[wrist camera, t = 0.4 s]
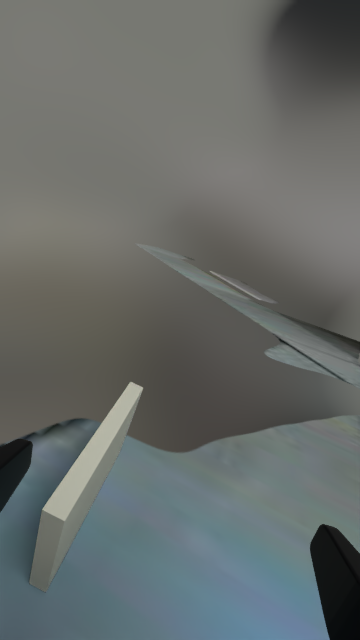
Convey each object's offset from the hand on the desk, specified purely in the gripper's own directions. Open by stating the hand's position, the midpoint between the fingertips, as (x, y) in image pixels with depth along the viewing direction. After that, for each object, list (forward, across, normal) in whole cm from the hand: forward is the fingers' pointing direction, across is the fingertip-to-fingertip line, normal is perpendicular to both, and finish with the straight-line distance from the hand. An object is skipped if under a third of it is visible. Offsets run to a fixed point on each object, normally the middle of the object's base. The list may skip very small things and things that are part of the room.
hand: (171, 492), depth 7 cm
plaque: (+9, +5, +14) cm, 17 cm away
